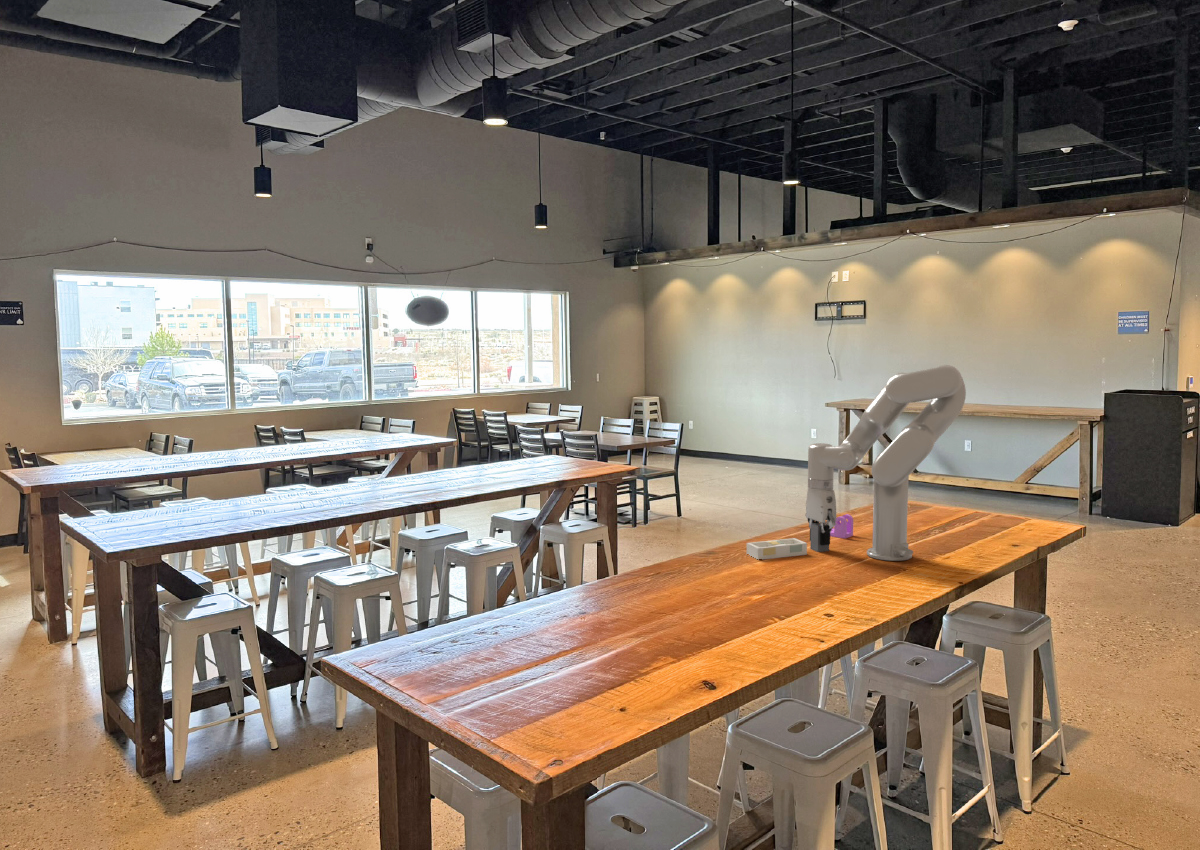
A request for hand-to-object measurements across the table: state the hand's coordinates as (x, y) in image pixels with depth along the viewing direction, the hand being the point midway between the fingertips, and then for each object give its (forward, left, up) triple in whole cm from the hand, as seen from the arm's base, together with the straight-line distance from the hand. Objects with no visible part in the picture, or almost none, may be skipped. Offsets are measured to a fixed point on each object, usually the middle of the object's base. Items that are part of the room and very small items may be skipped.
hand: (819, 542), depth 249 cm
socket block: (0, +15, -2) cm, 15 cm away
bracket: (+16, -15, -3) cm, 22 cm away
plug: (0, 0, -2) cm, 2 cm away
